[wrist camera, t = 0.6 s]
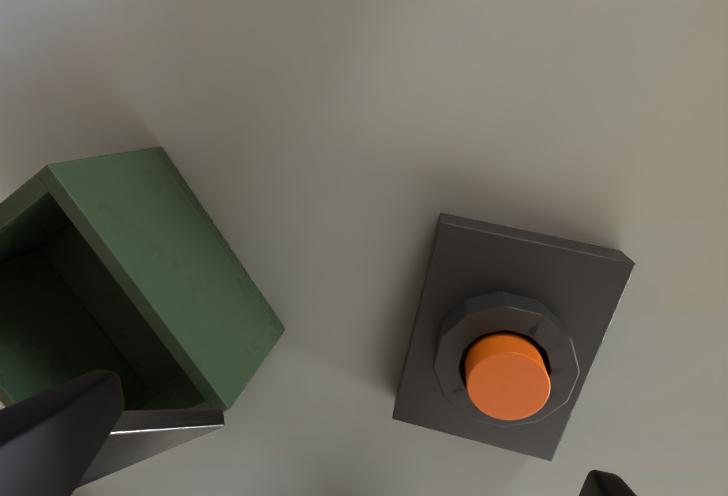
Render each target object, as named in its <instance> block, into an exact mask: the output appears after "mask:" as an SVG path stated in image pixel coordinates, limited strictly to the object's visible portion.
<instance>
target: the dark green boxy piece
mask: <svg viewBox="0 0 728 496" xmlns="http://www.w3.org/2000/svg"><path fill="white" fill-rule="evenodd" d="M284 330H285V328H284V327H283V325H282V324H281V322H280V321H279V319H278V318H277V316H276V315H275V314H274V312H273V311H272V309H271V308H270V306H269V305H268V303H267V302H266V300H265V299H264V297H263V296H262V294H261V293H260V291H259V290H258V288H257V287H256V286H255V284H254V283H253V281H252V280H251V278H250V277H249V275H248V274H247V272H246V271H245V269H244V268H243V266H242V265H241V263H240V262H239V260H238V259H237V258H236V256H235V255H234V253H233V252H232V250H231V249H230V247H229V246H228V244H227V243H226V241H225V240H224V238H223V237H222V235H221V234H220V232H219V231H218V230H217V228H216V227H215V225H214V224H213V222H212V221H211V219H210V218H209V216H208V215H207V213H206V212H205V210H204V209H203V207H202V206H201V204H200V203H199V202H198V200H197V199H196V197H195V196H194V194H193V193H192V191H191V190H190V188H189V187H188V185H187V184H186V182H185V181H184V179H183V178H182V176H181V175H180V174H179V172H178V171H177V169H176V168H175V166H174V165H173V163H172V162H171V160H170V159H169V157H168V156H167V154H166V153H165V151H164V150H163V149H162V147H156V148H149V149H143V150H136V151H130V152H124V153H118V154H111V155H105V156H99V157H93V158H87V159H80V160H74V161H68V162H62V163H55V164H49V165H47V166H45V167H44V168H43V169H42V170H41V171H39V172H38V173H37V174H36V175H34V176H33V177H32V178H31V179H30V180H28V181H27V182H26V183H25V184H23V185H22V186H21V187H20V188H19V189H17V190H16V191H15V192H14V193H13V194H11V195H10V196H9V197H8V198H6V199H5V200H4V201H3V202H2V203H0V401H1V402H2V403H3V404H4V406H5V407H8V406H11V405H13V404H15V403H18V402H20V401H22V400H25V399H27V398H29V397H32V396H34V395H36V394H39V393H41V392H43V391H46V390H48V389H50V388H53V387H55V386H57V385H60V384H62V383H64V382H67V381H69V380H71V379H74V378H76V377H78V376H81V375H83V374H85V373H88V372H90V371H93V370H96V369H102V370H107V371H112V372H115V373H117V374H118V375H119V378H120V382H121V387H122V391H123V396H124V401H125V406H124V410H160V409H203V408H222V409H223V412H224V411H226V410H229V409H230V407H231V406H232V404H233V403H234V402H235V400H236V399H237V397H238V396H239V394H240V393H241V392H242V390H243V389H244V387H245V386H246V385H247V383H248V382H249V380H250V379H251V377H252V376H253V375H254V373H255V372H256V370H257V369H258V367H259V366H260V365H261V363H262V362H263V360H264V359H265V358H266V356H267V355H268V353H269V352H270V350H271V349H272V348H273V346H274V345H275V343H276V342H277V340H278V339H279V338H280V336H281V334H282V333H283V332H284Z"/></svg>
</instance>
